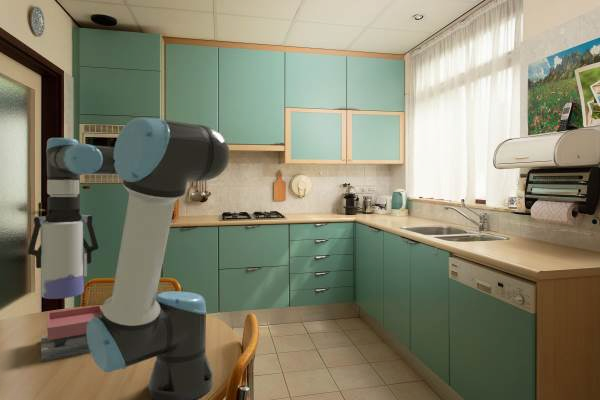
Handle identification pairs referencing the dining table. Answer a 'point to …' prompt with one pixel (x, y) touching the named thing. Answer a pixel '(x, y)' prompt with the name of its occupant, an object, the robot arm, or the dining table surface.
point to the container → (62, 259)
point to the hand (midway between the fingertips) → (64, 277)
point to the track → (64, 347)
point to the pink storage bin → (70, 322)
